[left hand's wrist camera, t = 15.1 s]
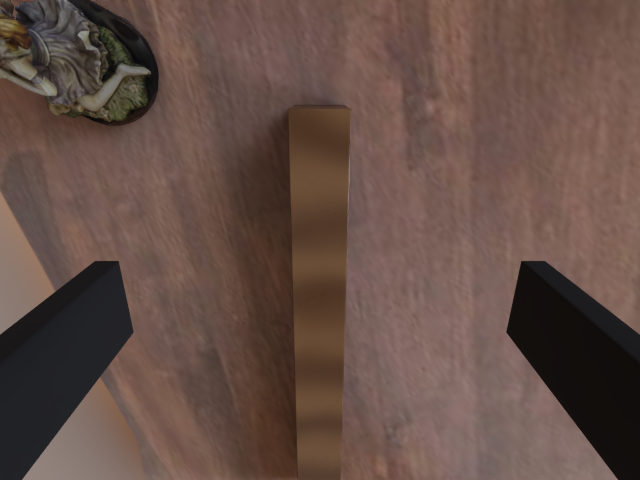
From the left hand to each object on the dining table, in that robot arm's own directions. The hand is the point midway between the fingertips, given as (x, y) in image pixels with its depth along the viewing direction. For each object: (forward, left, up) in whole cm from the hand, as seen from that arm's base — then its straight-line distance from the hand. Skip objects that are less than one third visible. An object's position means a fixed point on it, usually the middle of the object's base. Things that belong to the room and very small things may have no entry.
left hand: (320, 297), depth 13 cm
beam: (+20, -4, -29) cm, 35 cm away
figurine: (-13, -19, -29) cm, 37 cm away
